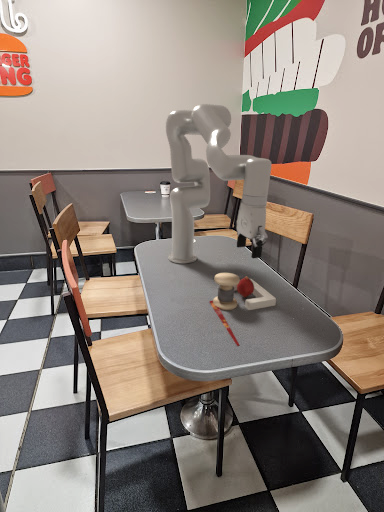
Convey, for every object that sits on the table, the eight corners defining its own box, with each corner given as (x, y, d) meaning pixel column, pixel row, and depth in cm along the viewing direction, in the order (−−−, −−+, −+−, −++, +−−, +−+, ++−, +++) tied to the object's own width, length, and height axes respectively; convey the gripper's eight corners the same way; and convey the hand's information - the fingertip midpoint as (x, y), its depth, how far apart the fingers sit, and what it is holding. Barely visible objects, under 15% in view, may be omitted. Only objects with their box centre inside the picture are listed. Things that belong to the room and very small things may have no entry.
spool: (209, 299, 107) (210, 274, 103) (230, 296, 110) (232, 271, 106) (219, 311, 100) (221, 284, 96) (241, 307, 103) (244, 281, 99)
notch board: (226, 288, 115) (227, 282, 114) (250, 284, 119) (251, 278, 118) (248, 310, 101) (249, 303, 100) (275, 305, 105) (276, 298, 104)
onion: (235, 292, 112) (237, 272, 109) (251, 293, 112) (253, 272, 109) (236, 300, 107) (238, 279, 104) (254, 301, 107) (256, 280, 104)
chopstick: (236, 347, 84) (236, 344, 84) (209, 303, 106) (209, 300, 105) (243, 346, 85) (243, 343, 84) (214, 302, 106) (215, 300, 106)
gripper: (230, 194, 103) (226, 244, 110) (258, 207, 88) (251, 263, 95) (250, 194, 106) (245, 242, 112) (281, 206, 91) (273, 261, 97)
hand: (248, 252), depth 104 cm, fingers open, 9 cm apart
